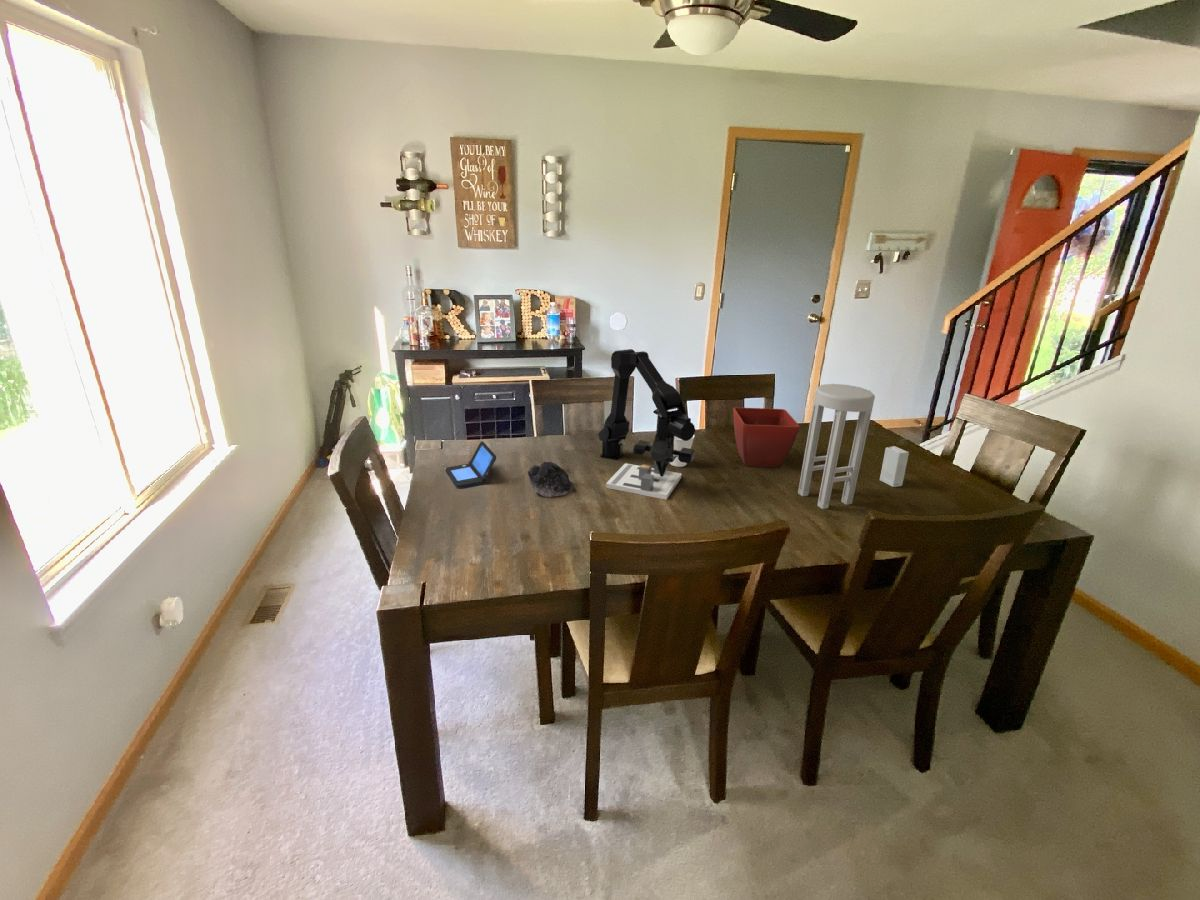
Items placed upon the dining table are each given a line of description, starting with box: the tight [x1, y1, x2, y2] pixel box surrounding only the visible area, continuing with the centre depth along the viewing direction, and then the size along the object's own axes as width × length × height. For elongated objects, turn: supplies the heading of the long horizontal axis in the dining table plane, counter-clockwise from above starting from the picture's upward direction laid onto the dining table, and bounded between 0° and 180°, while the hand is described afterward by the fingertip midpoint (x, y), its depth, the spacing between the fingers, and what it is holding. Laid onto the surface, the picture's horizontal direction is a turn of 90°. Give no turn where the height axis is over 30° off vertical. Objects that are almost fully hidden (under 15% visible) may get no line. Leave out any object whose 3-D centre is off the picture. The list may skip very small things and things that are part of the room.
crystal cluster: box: [527, 461, 573, 498], centre depth 178 cm, size 13×14×10 cm
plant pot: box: [733, 406, 801, 468], centre depth 202 cm, size 19×19×17 cm
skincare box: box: [879, 445, 910, 488], centre depth 188 cm, size 6×4×12 cm
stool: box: [797, 383, 876, 510], centre depth 171 cm, size 16×16×35 cm
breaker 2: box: [653, 461, 660, 474], centre depth 189 cm, size 3×4×4 cm
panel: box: [605, 463, 682, 500], centre depth 185 cm, size 20×18×2 cm
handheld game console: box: [444, 440, 497, 489], centre depth 185 cm, size 16×13×9 cm
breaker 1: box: [641, 474, 654, 491], centre depth 177 cm, size 3×4×4 cm
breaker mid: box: [639, 463, 652, 480], centre depth 184 cm, size 3×4×4 cm
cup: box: [669, 434, 696, 468], centre depth 199 cm, size 10×10×11 cm
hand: (662, 476), depth 182 cm, fingers closed
